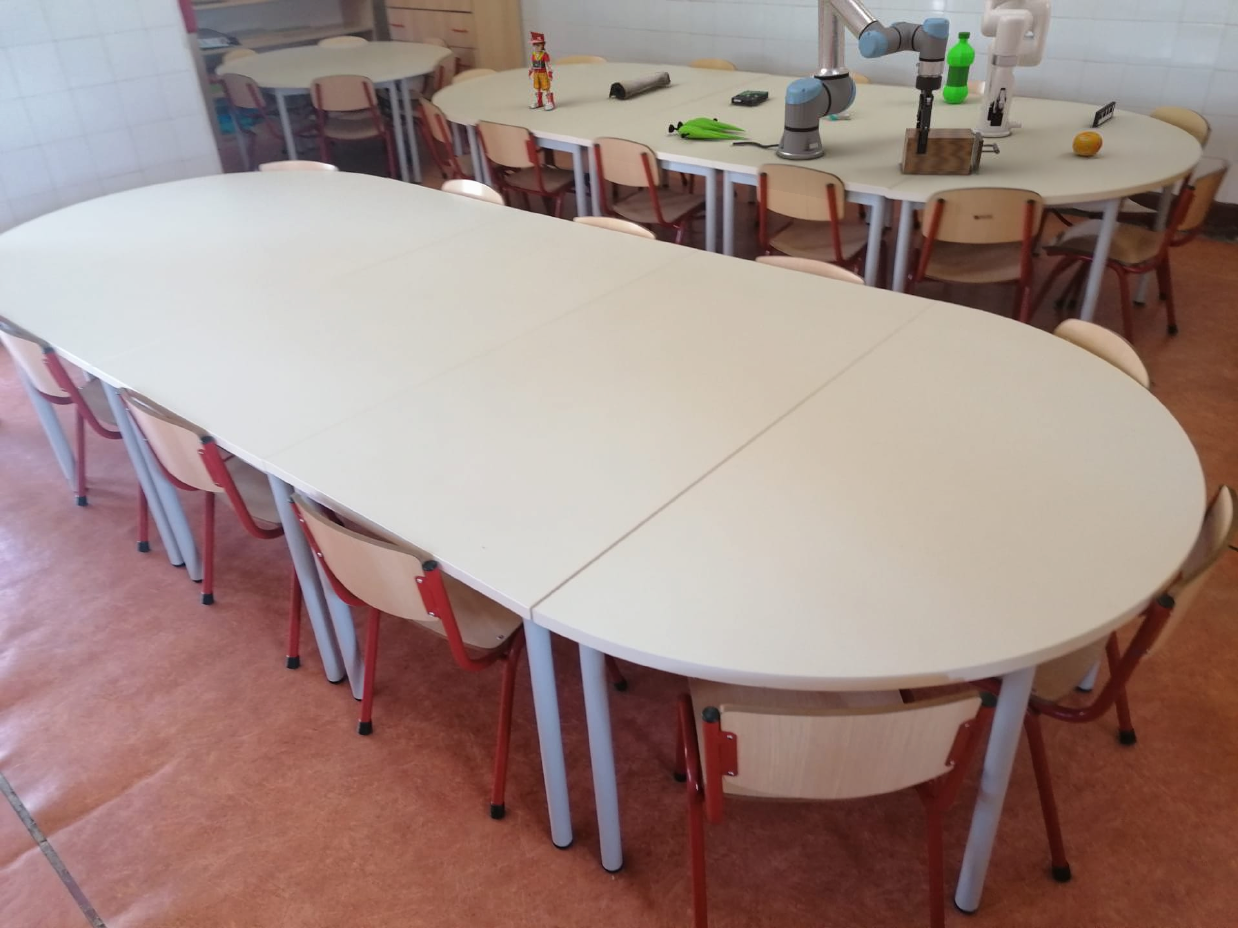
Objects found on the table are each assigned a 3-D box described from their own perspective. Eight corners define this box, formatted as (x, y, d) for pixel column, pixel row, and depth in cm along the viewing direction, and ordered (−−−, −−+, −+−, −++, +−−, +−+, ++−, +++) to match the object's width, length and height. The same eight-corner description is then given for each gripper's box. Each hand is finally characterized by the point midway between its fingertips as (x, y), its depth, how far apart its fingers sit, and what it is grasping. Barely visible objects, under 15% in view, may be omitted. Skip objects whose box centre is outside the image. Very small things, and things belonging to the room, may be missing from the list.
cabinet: (964, 164, 290) (970, 128, 284) (968, 174, 281) (974, 138, 275) (901, 163, 294) (906, 128, 288) (903, 174, 285) (908, 137, 279)
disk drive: (753, 107, 365) (768, 98, 375) (754, 100, 363) (769, 91, 373) (730, 105, 370) (746, 96, 380) (730, 98, 368) (746, 89, 378)
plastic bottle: (973, 101, 354) (984, 32, 339) (955, 106, 349) (966, 36, 335) (952, 97, 361) (962, 29, 346) (934, 102, 356) (944, 33, 342)
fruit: (1068, 146, 288) (1086, 124, 285) (1065, 149, 295) (1083, 127, 292) (1091, 161, 286) (1109, 138, 283) (1087, 163, 294) (1105, 141, 291)
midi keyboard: (1096, 127, 316) (1099, 112, 313) (1092, 126, 317) (1095, 112, 314) (1112, 116, 326) (1116, 101, 323) (1108, 115, 327) (1112, 101, 324)
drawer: (992, 161, 288) (998, 132, 282) (997, 171, 280) (1002, 140, 275) (915, 161, 292) (919, 132, 287) (917, 170, 284) (921, 140, 279)
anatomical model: (813, 89, 348) (838, 82, 348) (816, 116, 354) (841, 109, 353) (823, 98, 336) (849, 91, 335) (826, 126, 342) (852, 119, 341)
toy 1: (525, 109, 381) (517, 32, 364) (534, 104, 388) (527, 28, 371) (550, 110, 377) (543, 32, 360) (559, 105, 384) (553, 28, 367)
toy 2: (657, 137, 330) (731, 151, 317) (658, 122, 327) (732, 136, 314) (693, 125, 350) (763, 137, 338) (694, 111, 347) (764, 123, 335)
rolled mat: (651, 76, 408) (662, 61, 399) (662, 93, 408) (674, 79, 400) (605, 92, 391) (616, 77, 383) (617, 110, 391) (628, 95, 383)
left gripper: (914, 67, 283) (905, 138, 295) (919, 83, 264) (909, 159, 276) (939, 66, 281) (929, 138, 294) (946, 83, 263) (935, 159, 275)
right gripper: (988, 55, 274) (977, 116, 284) (995, 67, 260) (984, 131, 271) (1014, 54, 273) (1002, 116, 283) (1023, 66, 259) (1011, 131, 269)
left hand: (919, 148), depth 285 cm, fingers closed on cabinet, 11 cm apart
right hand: (993, 122), depth 277 cm, fingers open, 5 cm apart
